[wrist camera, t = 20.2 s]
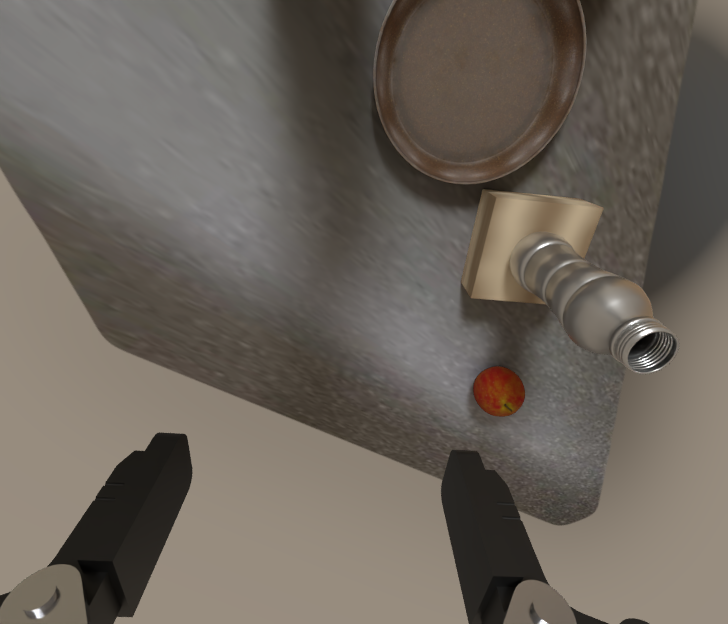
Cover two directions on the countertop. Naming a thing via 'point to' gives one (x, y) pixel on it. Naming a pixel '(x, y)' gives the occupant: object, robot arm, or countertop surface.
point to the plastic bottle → (593, 303)
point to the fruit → (499, 391)
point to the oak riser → (520, 238)
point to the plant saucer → (477, 82)
